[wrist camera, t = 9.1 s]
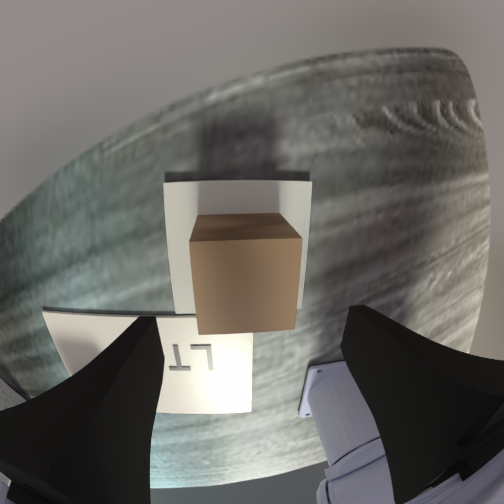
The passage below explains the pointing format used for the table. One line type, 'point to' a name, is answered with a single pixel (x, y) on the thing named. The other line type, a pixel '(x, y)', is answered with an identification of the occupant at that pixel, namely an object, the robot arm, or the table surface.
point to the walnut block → (245, 273)
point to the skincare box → (5, 398)
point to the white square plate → (227, 202)
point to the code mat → (168, 359)
